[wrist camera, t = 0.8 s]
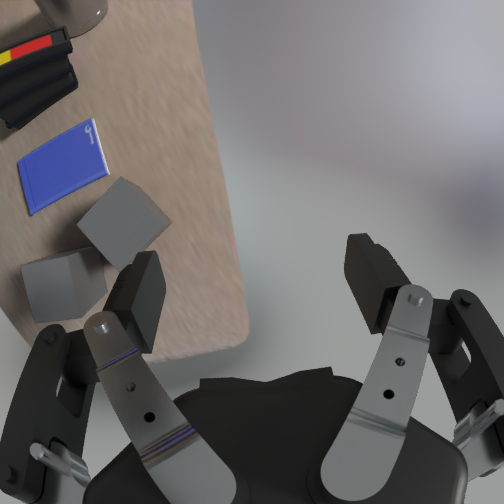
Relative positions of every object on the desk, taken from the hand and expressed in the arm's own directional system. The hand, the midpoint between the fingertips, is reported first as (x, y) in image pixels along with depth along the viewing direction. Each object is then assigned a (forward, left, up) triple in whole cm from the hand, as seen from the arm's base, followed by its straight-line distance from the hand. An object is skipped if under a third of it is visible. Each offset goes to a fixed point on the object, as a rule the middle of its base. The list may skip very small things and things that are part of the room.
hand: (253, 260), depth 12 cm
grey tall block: (-7, -6, -24) cm, 26 cm away
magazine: (-30, -4, -24) cm, 39 cm away
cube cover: (-8, -16, -24) cm, 30 cm away
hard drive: (-20, -9, -25) cm, 33 cm away
